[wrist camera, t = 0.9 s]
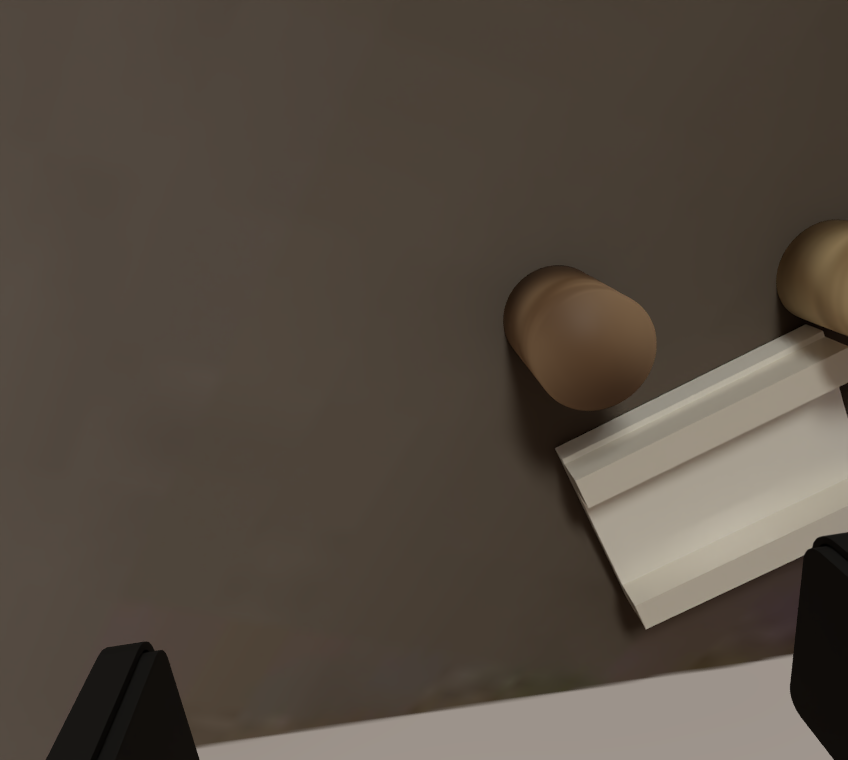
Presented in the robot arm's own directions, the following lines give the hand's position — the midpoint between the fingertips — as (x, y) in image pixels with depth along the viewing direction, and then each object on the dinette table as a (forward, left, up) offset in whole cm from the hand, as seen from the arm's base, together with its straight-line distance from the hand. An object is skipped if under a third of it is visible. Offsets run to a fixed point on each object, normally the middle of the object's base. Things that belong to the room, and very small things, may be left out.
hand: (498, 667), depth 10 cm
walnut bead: (-6, +3, -21) cm, 22 cm away
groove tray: (-10, +14, -20) cm, 27 cm away
